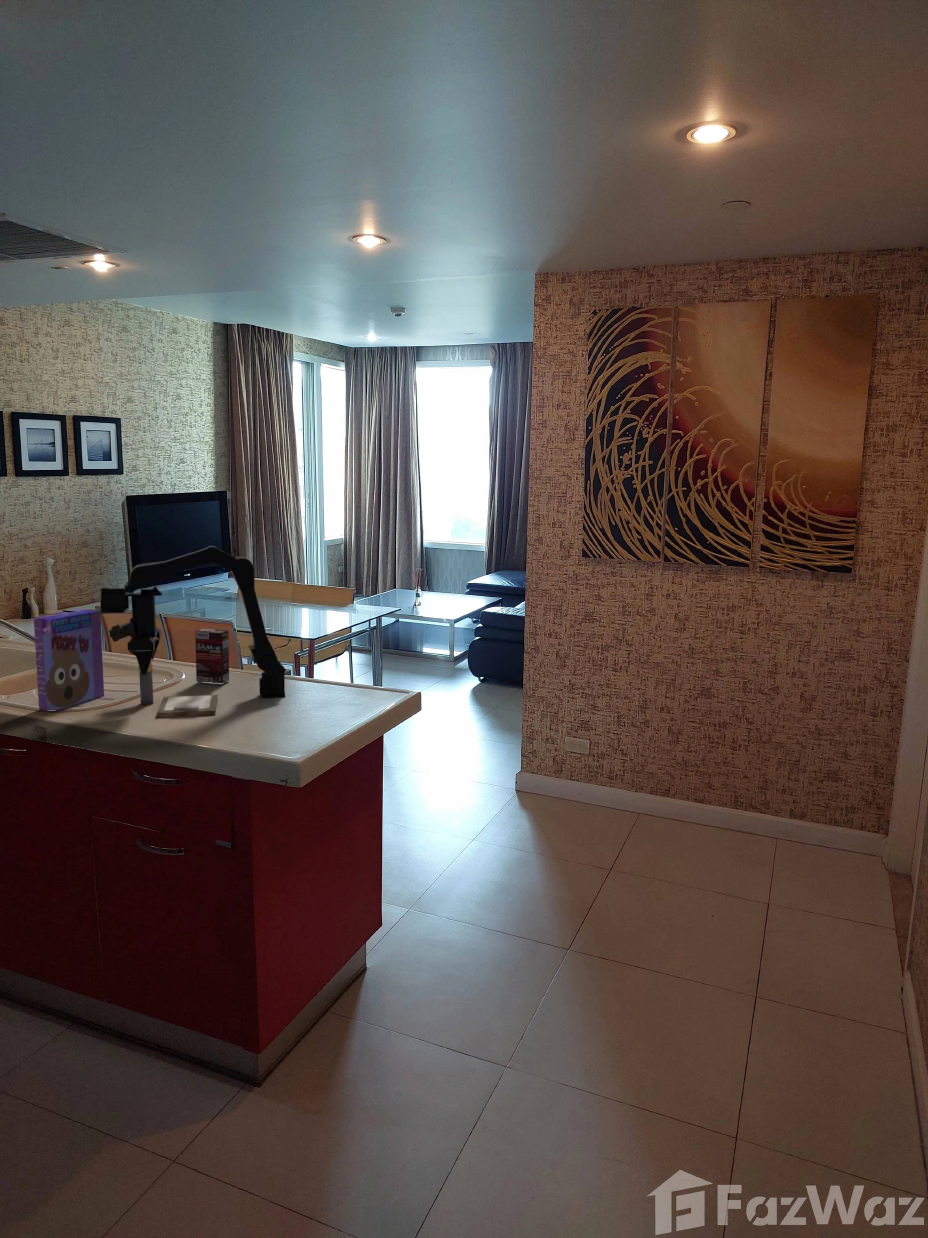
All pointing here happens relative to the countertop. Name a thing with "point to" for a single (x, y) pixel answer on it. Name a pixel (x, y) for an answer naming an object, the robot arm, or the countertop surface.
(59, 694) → the cereal box
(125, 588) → the robot arm
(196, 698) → the clipboard
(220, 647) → the supplement box
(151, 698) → the marker
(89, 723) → the countertop surface
